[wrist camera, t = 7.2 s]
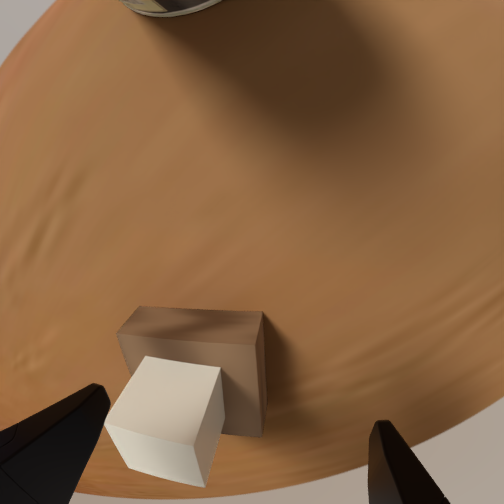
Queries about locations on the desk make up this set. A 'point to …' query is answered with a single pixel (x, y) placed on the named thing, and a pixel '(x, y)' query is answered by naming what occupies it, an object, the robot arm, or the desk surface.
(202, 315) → the walnut block
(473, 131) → the desk surface
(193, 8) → the coffee can
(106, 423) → the cream block
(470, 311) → the desk surface
